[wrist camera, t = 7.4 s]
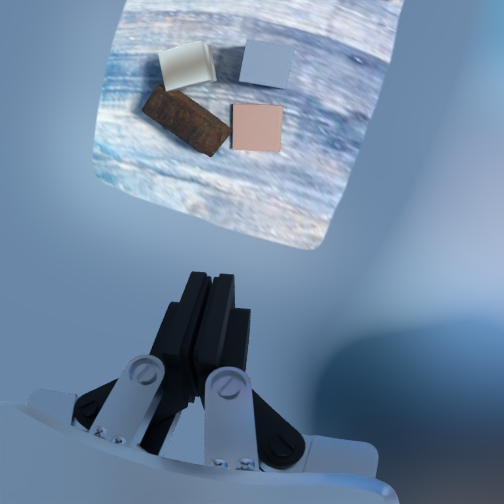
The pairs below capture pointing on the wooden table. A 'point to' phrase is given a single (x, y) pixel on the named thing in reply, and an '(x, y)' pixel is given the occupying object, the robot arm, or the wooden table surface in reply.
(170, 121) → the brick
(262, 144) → the tile
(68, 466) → the robot arm
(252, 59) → the slate block
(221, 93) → the wooden table surface
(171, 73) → the pale grey cube
